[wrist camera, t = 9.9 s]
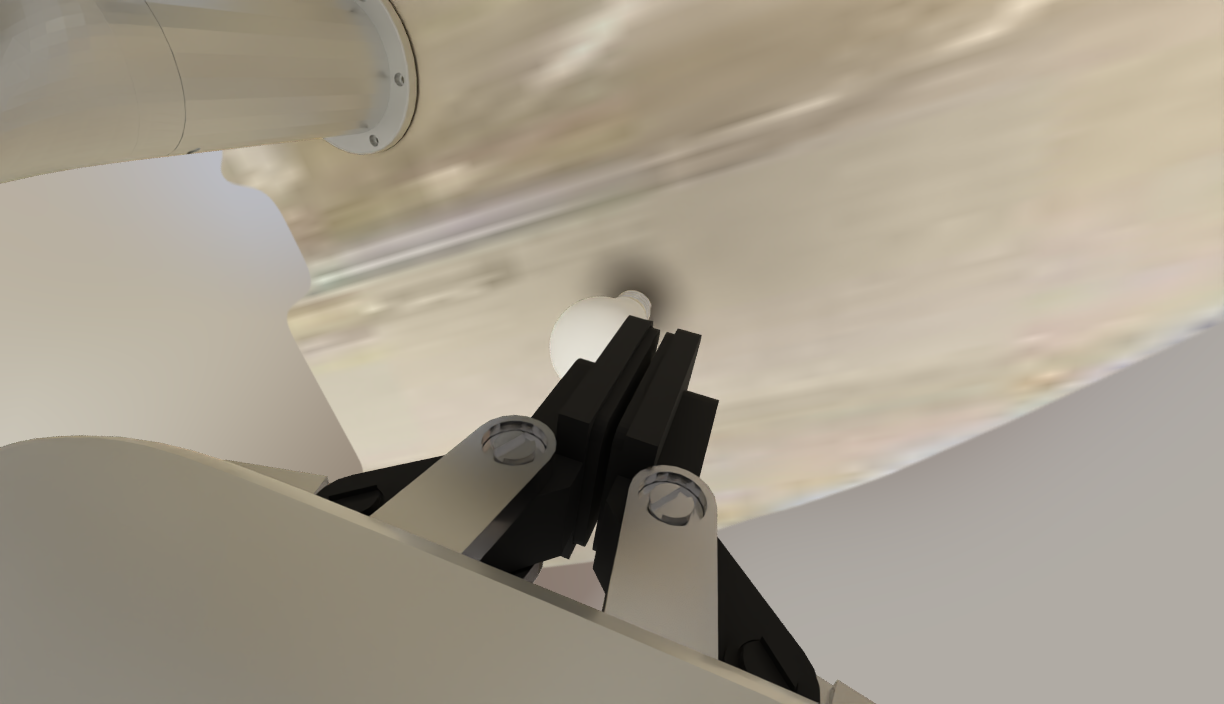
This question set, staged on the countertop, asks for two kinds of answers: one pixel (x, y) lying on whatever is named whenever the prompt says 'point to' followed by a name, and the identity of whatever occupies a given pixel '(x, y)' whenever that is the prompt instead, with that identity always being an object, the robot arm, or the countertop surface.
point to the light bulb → (592, 327)
